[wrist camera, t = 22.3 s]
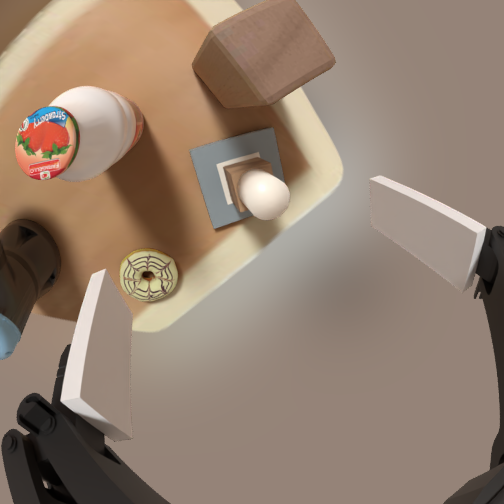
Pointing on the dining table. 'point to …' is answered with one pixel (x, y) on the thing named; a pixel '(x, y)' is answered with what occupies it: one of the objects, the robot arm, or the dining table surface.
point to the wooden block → (262, 55)
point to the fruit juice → (78, 135)
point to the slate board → (225, 153)
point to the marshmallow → (263, 194)
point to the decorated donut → (152, 286)
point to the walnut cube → (237, 171)
